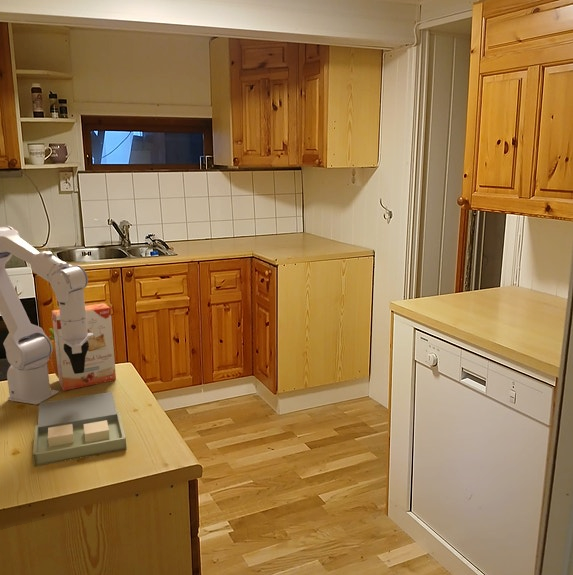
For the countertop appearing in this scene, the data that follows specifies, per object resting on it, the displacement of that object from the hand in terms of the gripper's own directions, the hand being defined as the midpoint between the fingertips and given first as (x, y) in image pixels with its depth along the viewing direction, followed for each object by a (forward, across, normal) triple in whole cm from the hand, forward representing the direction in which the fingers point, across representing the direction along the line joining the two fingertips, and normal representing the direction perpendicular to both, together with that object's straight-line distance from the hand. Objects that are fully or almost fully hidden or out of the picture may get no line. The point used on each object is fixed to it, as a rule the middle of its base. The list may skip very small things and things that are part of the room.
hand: (79, 372), depth 141 cm
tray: (+9, -17, +1) cm, 20 cm away
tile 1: (+9, -15, +5) cm, 18 cm away
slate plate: (+9, -4, +1) cm, 10 cm away
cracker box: (+10, +16, -2) cm, 19 cm away
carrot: (+10, +21, +5) cm, 23 cm away
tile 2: (+9, -16, -2) cm, 19 cm away
